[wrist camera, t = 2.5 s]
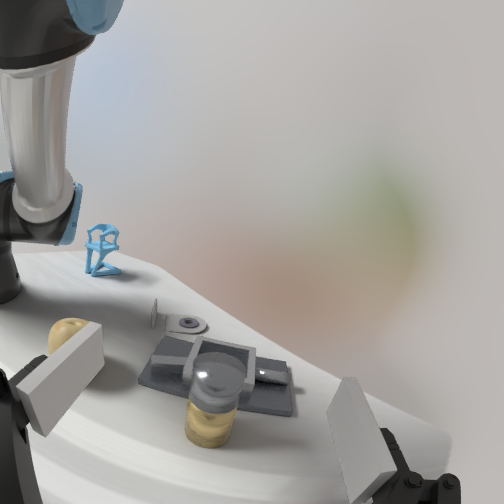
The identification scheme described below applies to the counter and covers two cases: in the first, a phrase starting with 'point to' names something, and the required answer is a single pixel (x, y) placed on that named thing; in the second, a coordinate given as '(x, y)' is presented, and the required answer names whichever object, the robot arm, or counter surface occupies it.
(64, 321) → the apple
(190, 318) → the bracket
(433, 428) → the counter surface
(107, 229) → the chair
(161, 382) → the coupling board
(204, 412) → the gold and grey cylinder
